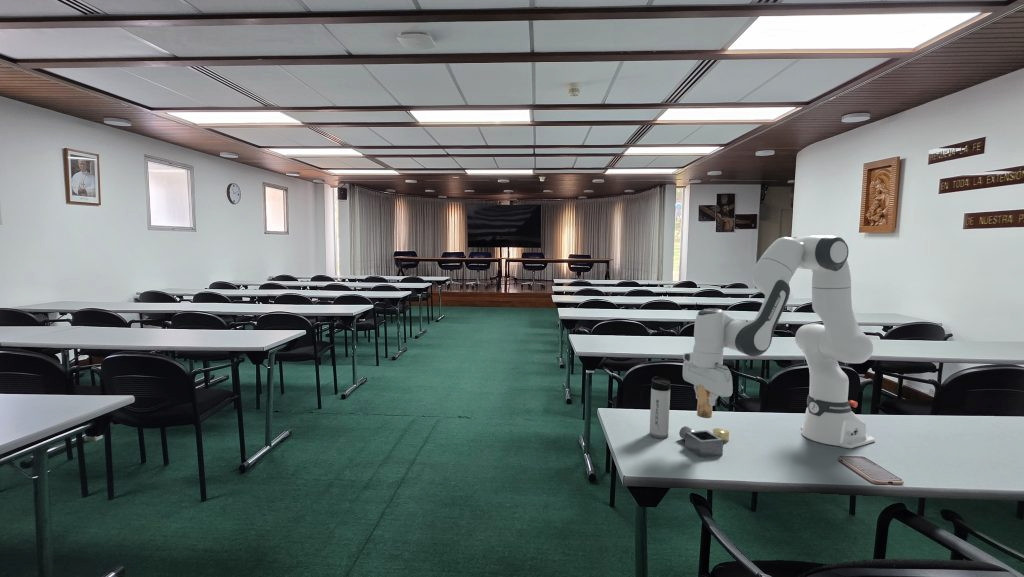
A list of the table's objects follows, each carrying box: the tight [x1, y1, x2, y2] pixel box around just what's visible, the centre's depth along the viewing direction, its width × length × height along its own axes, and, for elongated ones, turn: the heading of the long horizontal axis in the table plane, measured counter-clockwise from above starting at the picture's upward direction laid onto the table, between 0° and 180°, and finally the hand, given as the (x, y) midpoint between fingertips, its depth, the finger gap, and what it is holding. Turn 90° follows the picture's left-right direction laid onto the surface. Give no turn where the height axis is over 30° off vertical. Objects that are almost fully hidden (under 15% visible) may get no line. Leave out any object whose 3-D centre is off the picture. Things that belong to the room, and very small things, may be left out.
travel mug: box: [649, 376, 671, 439], centre depth 163 cm, size 6×7×20 cm
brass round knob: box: [712, 428, 730, 443], centre depth 160 cm, size 5×5×3 cm
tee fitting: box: [678, 425, 724, 458], centre depth 153 cm, size 8×14×5 cm, turn 14°
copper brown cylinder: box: [696, 385, 713, 419], centre depth 149 cm, size 4×4×10 cm
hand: (705, 402), depth 149 cm, fingers closed on copper brown cylinder, 4 cm apart
